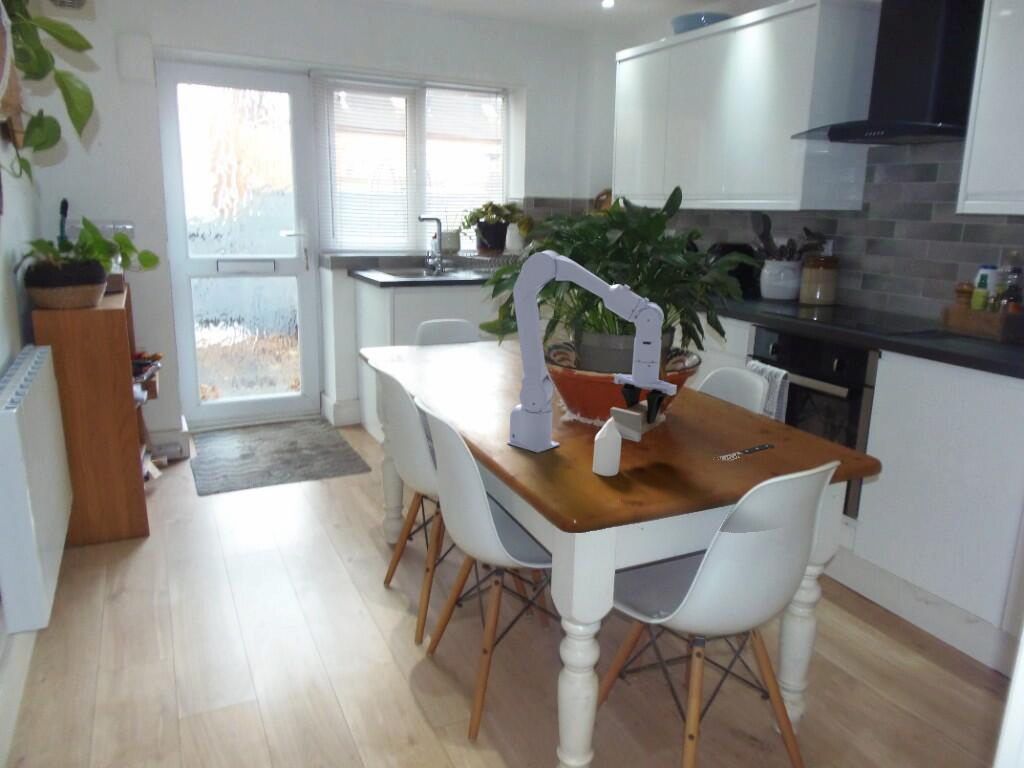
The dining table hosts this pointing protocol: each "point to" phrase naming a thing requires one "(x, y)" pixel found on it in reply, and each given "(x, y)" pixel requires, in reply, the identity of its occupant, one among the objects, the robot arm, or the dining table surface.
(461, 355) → the dining table surface
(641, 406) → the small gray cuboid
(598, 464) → the white pointed cylinder
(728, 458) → the kitchen knife
